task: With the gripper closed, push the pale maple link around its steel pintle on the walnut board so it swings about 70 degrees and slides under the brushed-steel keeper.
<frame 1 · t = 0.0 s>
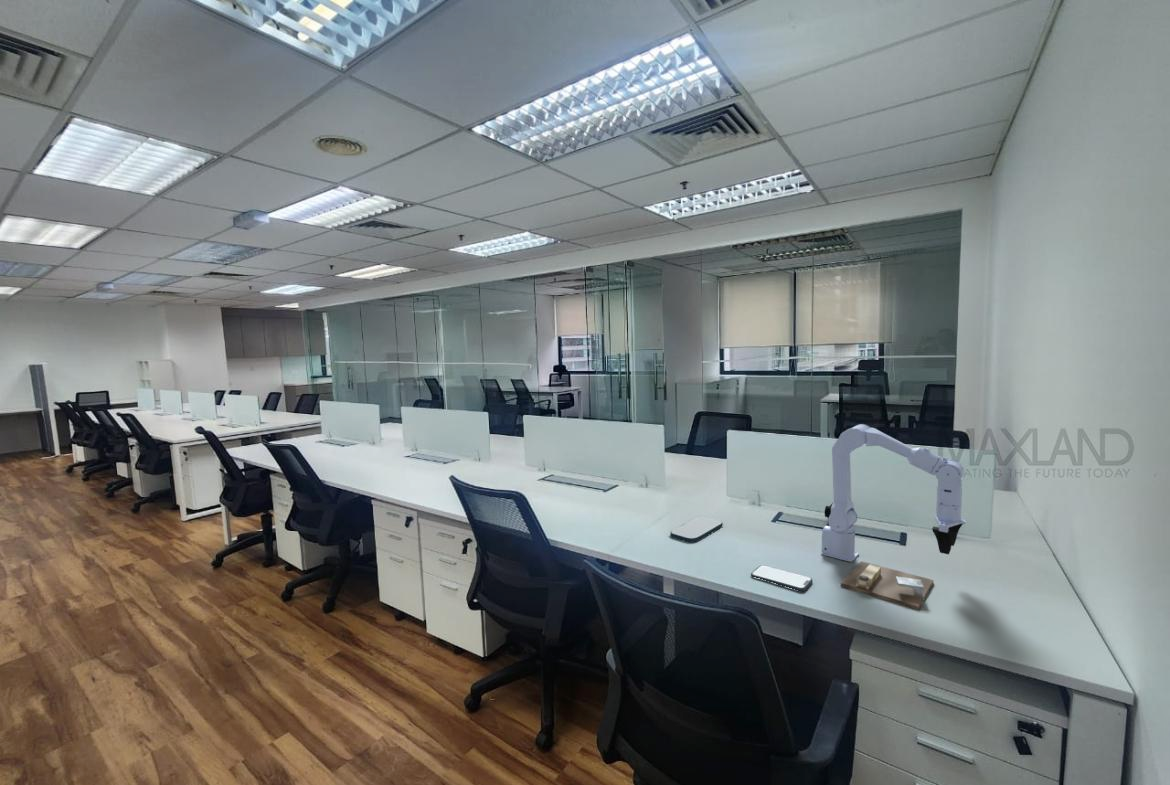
hand: (947, 548, 141), 10 cm above the table, tool pointing down, fingers open, 7 cm apart
walnut board: (887, 584, 141), on the table
phone case: (781, 581, 147), on the table
keeper: (917, 598, 134), resting on walnut board
digital camera: (835, 522, 191), on the table
external hard drive: (697, 532, 187), on the table
pivot link: (868, 575, 142), point 3 cm above the table, hinge at 70.0°
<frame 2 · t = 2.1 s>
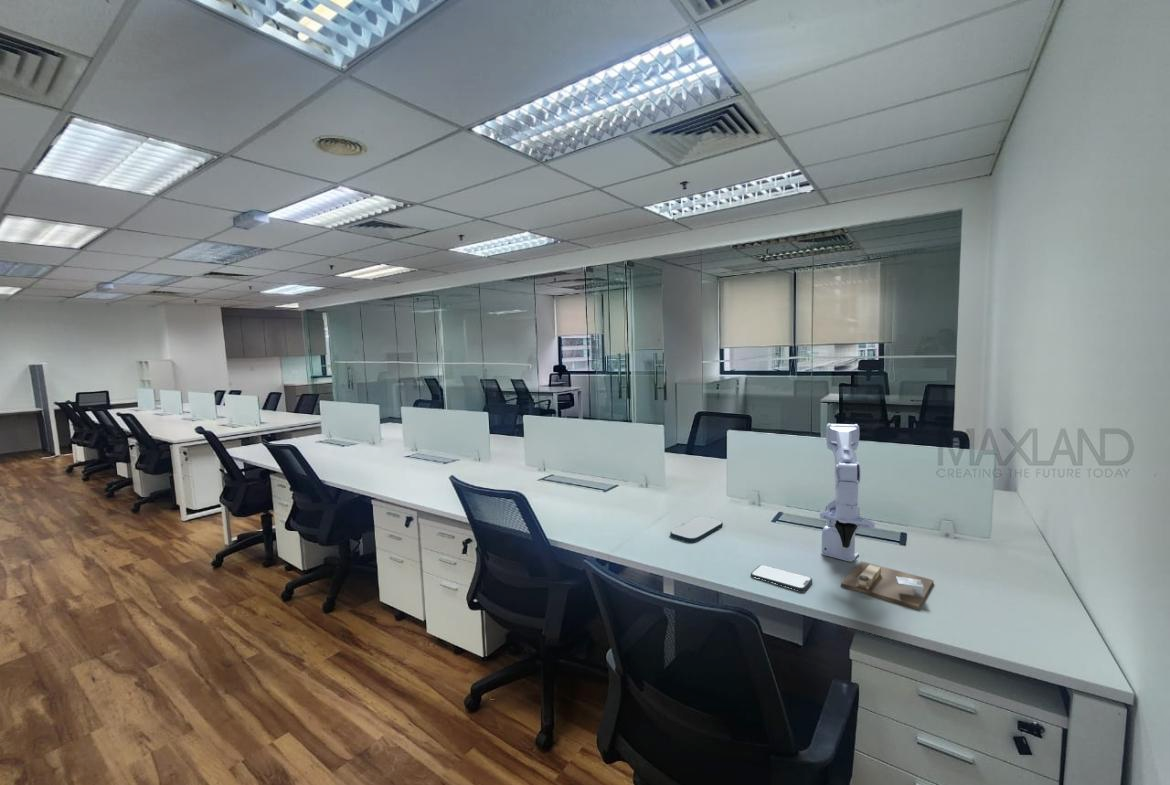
hand: (846, 546, 147), 9 cm above the table, tool pointing down, fingers closed
nothing on the table moved.
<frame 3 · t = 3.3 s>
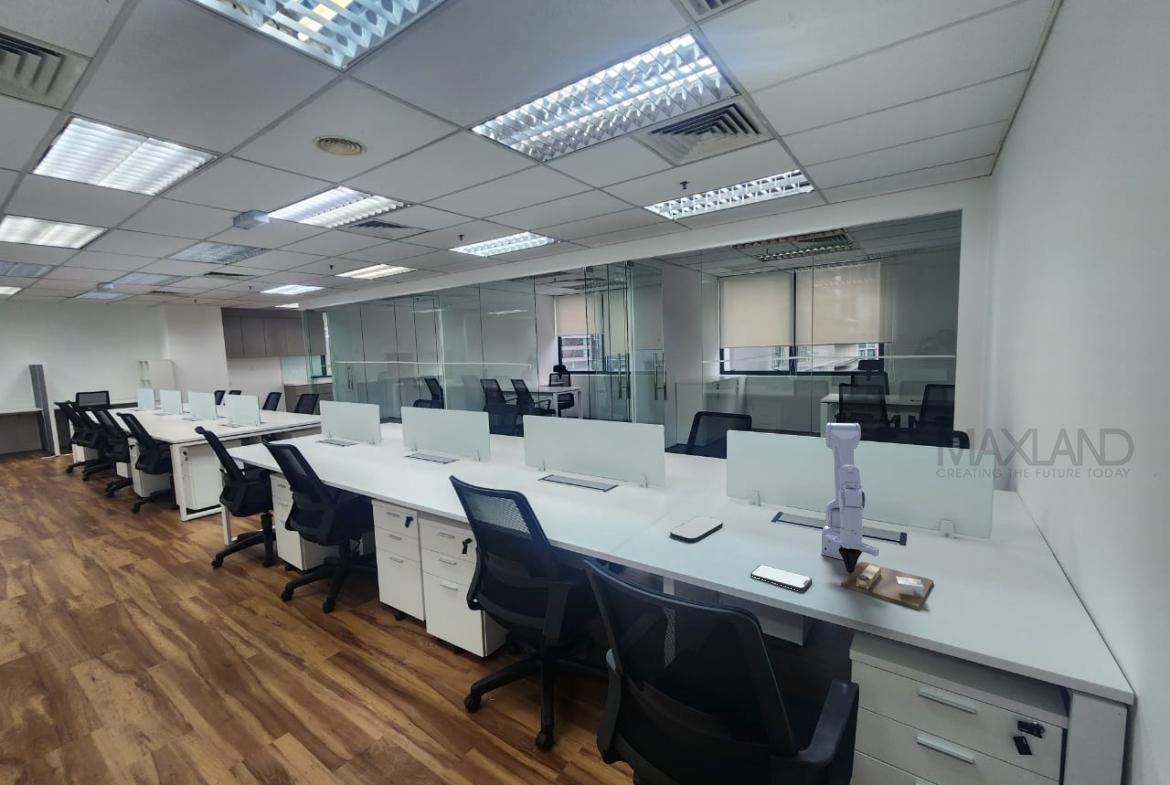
hand: (850, 571, 146), 2 cm above the table, tool pointing down, fingers closed
nothing on the table moved.
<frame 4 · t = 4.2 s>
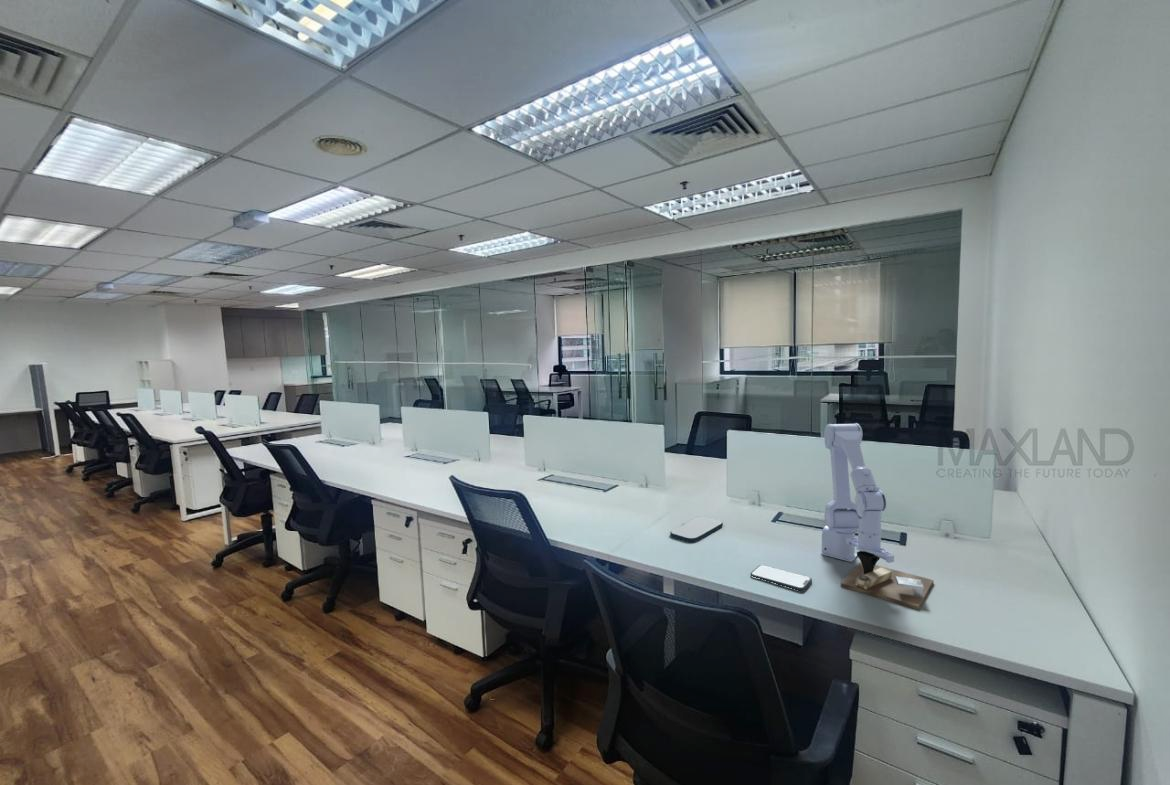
hand: (868, 575, 143), 2 cm above the table, tool pointing down, fingers closed, pressing on pivot link
pivot link: (873, 577, 141), point 2 cm above the table, hinge at 53.6°, touching gripper
everything else where it was.
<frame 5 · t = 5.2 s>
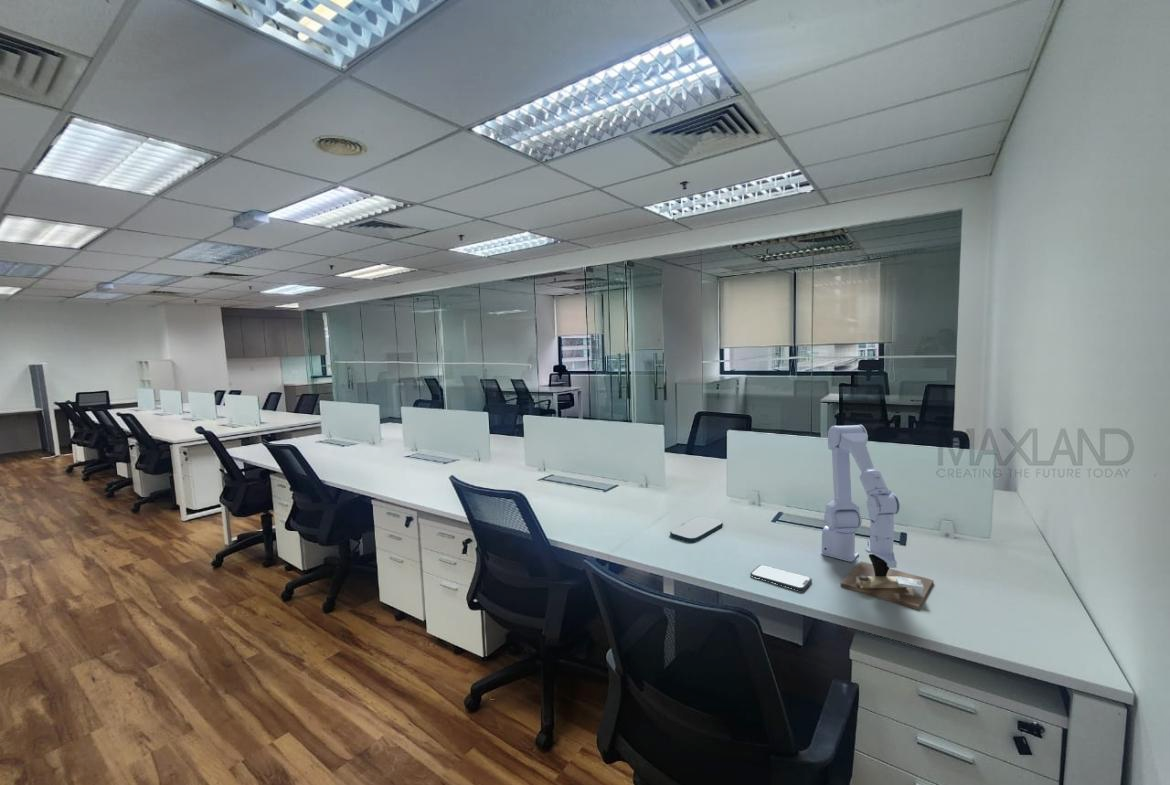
hand: (880, 580, 141), 2 cm above the table, tool pointing down, fingers closed, pressing on pivot link
pivot link: (880, 581, 138), point 2 cm above the table, hinge at 21.2°, touching gripper
everything else where it was.
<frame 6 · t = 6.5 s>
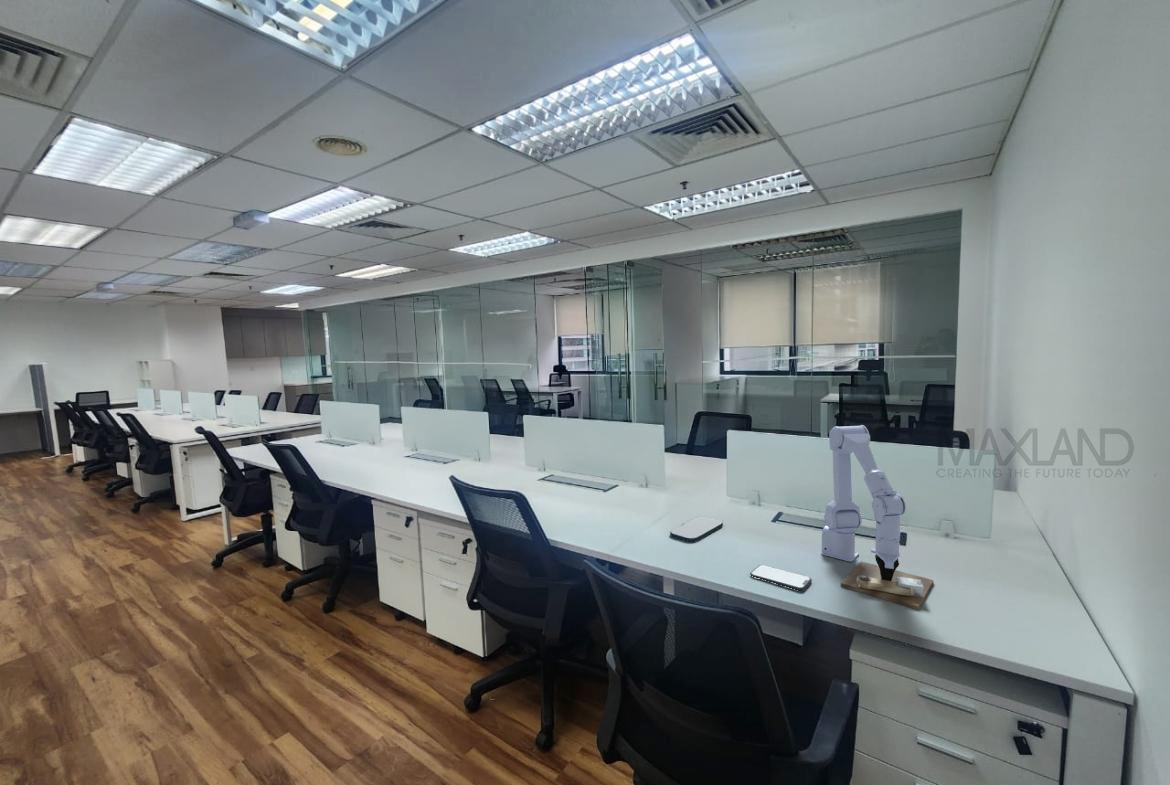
hand: (886, 582, 140), 2 cm above the table, tool pointing down, fingers closed
pivot link: (882, 584, 137), point 2 cm above the table, hinge at -3.2°
everything else where it was.
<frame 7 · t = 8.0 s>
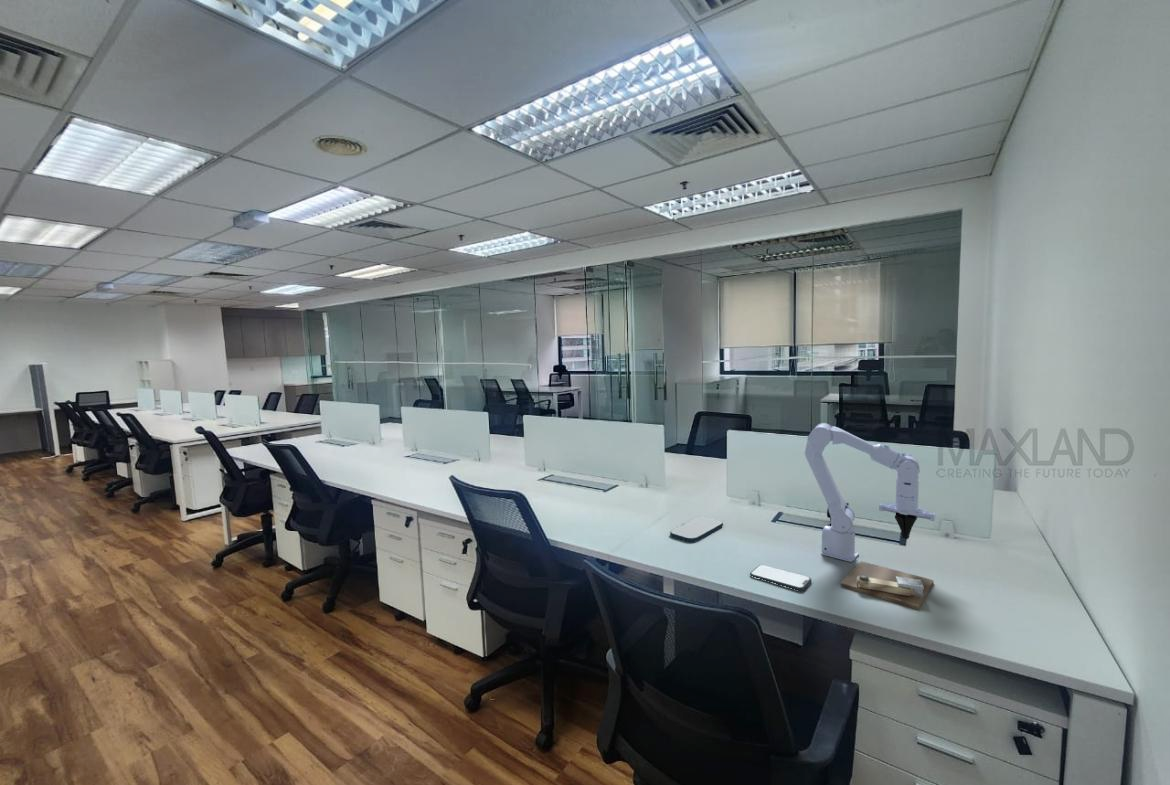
hand: (905, 537, 151), 9 cm above the table, tool pointing down, fingers closed
nothing on the table moved.
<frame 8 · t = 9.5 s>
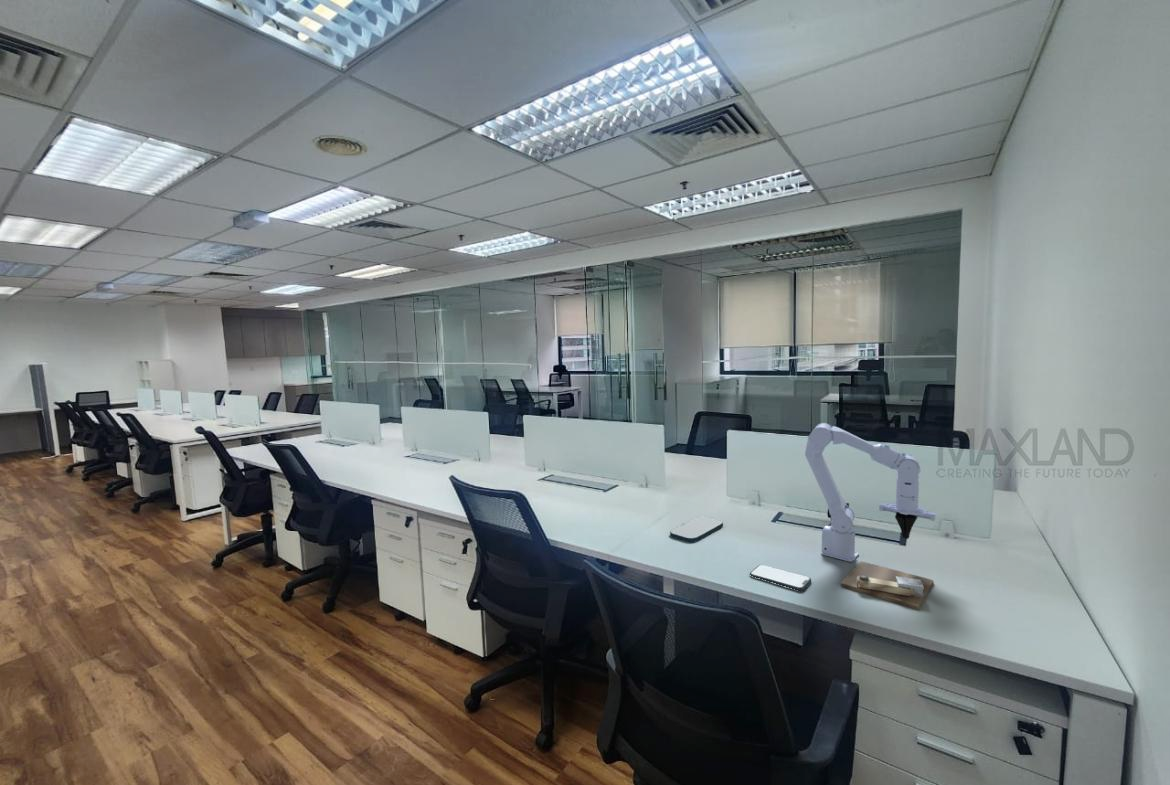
hand: (905, 537, 151), 9 cm above the table, tool pointing down, fingers closed
at the end: pivot link at -3° (first picture: +70°); phone case moved 0.8 cm from its start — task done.
